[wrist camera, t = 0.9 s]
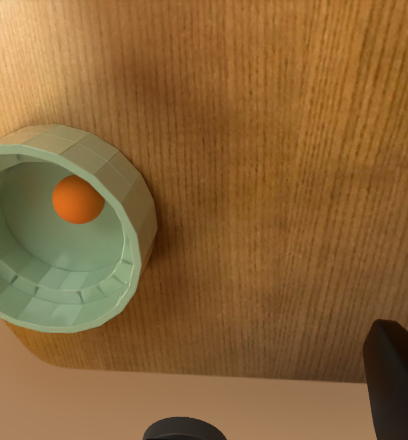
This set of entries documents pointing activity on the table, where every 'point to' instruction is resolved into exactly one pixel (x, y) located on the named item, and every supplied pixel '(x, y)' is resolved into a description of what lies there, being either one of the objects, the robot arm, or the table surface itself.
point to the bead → (77, 200)
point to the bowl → (69, 231)
